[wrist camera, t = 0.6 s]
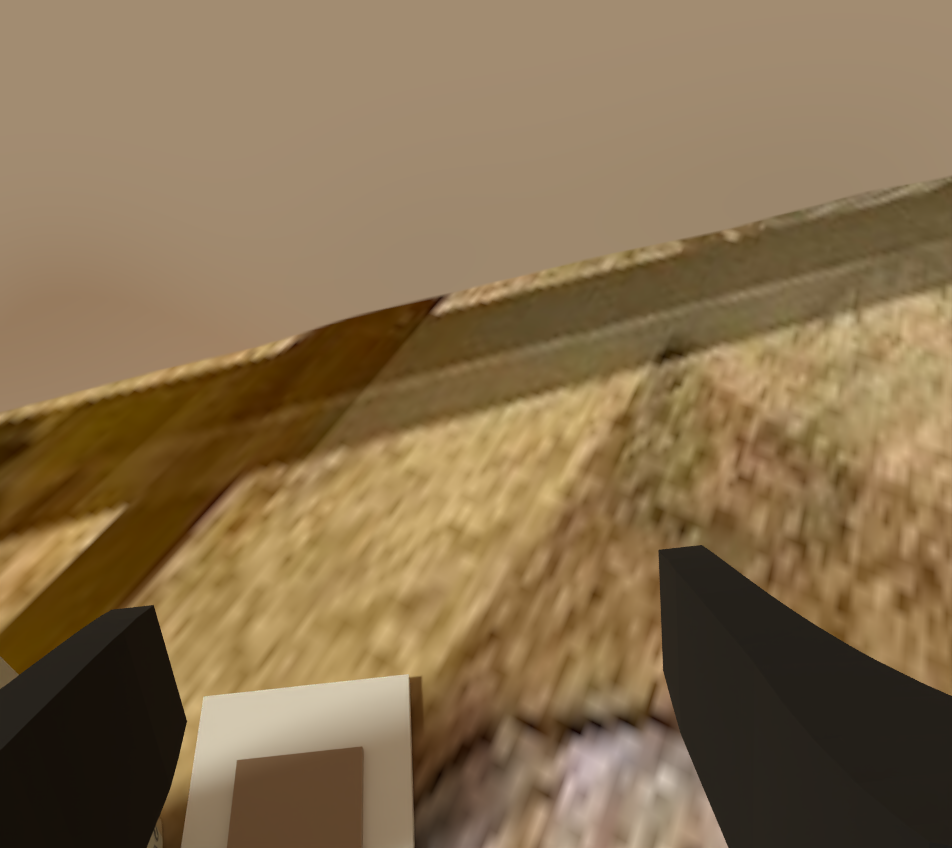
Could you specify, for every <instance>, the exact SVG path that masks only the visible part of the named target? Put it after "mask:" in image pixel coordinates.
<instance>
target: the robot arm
mask: <svg viewBox="0 0 952 848" xmlns="http://www.w3.org/2000/svg"><path fill="white" fill-rule="evenodd" d="M659 574H660V599H661V625H662V651H663V671H664V675H665V679H666V682H667V686H668V690H669V693H670V697H671V701H672V705H673V708H674V712H675V715H676V719H677V722H678V726H679V729H680V733H681V735H682V738H683V740H684V742H685V745H686V747H687V750H688V752H689V755H690V757H691V759H692V762H693V764H694V767H695V769H696V772H697V774H698V776H699V779H700V781H701V784H702V786H703V788H704V791H705V793H706V795H707V798H708V800H709V802H710V805H711V807H712V810H713V812H714V814H715V817H716V819H717V821H718V824H719V826H720V828H721V831H722V833H723V836H724V838H725V840H726V843H727V845H728V847H729V848H952V696H950V695H948V694H946V693H943V692H941V691H939V690H937V689H934V688H932V687H930V686H928V685H925V684H923V683H921V682H919V681H917V680H915V679H913V678H911V677H909V676H907V675H905V674H903V673H901V672H899V671H897V670H895V669H893V668H891V667H889V666H887V665H885V664H883V663H881V662H879V661H877V660H875V659H873V658H871V657H869V656H867V655H865V654H864V653H862V652H860V651H858V650H856V649H855V648H853V647H851V646H849V645H848V644H846V643H844V642H843V641H841V640H839V639H838V638H836V637H834V636H833V635H831V634H829V633H828V632H826V631H824V630H823V629H821V628H819V627H818V626H816V625H815V624H813V623H811V622H810V621H808V620H807V619H805V618H804V617H802V616H801V615H799V614H797V613H796V612H794V611H793V610H792V609H790V608H789V607H787V606H786V605H784V604H783V603H781V602H780V601H778V600H777V599H775V598H774V597H773V596H771V595H770V594H768V593H767V592H765V591H764V590H763V589H761V588H760V587H758V586H757V585H756V584H754V583H753V582H752V581H750V580H749V579H748V578H746V577H745V576H743V575H742V574H741V573H739V572H738V571H737V570H735V569H734V568H733V567H731V566H730V565H729V564H727V563H726V562H725V561H723V560H722V559H721V558H719V557H718V556H717V555H715V554H714V553H712V552H711V551H710V550H708V549H707V548H705V547H704V546H702V545H699V546H690V547H681V548H672V549H663V550H659ZM186 723H187V720H186V716H185V713H184V709H183V706H182V702H181V699H180V695H179V692H178V689H177V685H176V682H175V678H174V675H173V671H172V668H171V664H170V661H169V657H168V654H167V650H166V647H165V643H164V640H163V636H162V633H161V629H160V626H159V622H158V619H157V615H156V612H155V608H154V605H151V606H142V607H133V608H124V609H115V610H111V611H109V612H107V613H105V614H104V615H102V616H100V617H99V618H97V619H96V620H94V621H93V622H91V623H90V624H88V625H87V626H85V627H84V628H83V629H81V630H80V631H78V632H77V633H76V634H74V635H73V636H71V637H70V638H69V639H67V640H66V641H65V642H63V643H62V644H60V645H59V646H58V647H56V648H55V649H54V650H52V651H51V652H50V653H48V654H47V655H46V656H44V657H43V658H42V659H40V660H39V661H38V662H36V663H35V664H33V665H32V666H31V667H29V668H28V669H27V670H25V671H24V672H23V673H21V674H20V675H19V676H17V677H16V678H14V679H13V680H12V681H10V682H9V683H8V684H6V685H5V686H4V687H2V688H1V689H0V848H147V846H148V843H149V841H150V838H151V836H152V833H153V831H154V828H155V826H156V823H157V821H158V818H159V816H160V813H161V811H162V808H163V806H164V803H165V800H166V798H167V795H168V793H169V790H170V787H171V784H172V780H173V776H174V773H175V769H176V765H177V761H178V758H179V753H180V749H181V745H182V740H183V736H184V732H185V727H186Z"/></svg>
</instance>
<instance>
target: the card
mask: <svg viewBox="0 0 952 848" xmlns="http://www.w3.org/2000/svg"><path fill="white" fill-rule="evenodd" d="M181 848H415V838H414V804H413V769H412V735H411V700H410V678H409V675H408V674H407V675H398V676H388V677H379V678H370V679H361V680H352V681H342V682H333V683H324V684H315V685H306V686H296V687H287V688H278V689H269V690H260V691H250V692H241V693H232V694H223V695H214V696H204V697H203V704H202V711H201V717H200V724H199V730H198V737H197V744H196V750H195V757H194V764H193V770H192V777H191V784H190V790H189V797H188V804H187V810H186V817H185V824H184V830H183V837H182V844H181Z"/></svg>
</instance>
